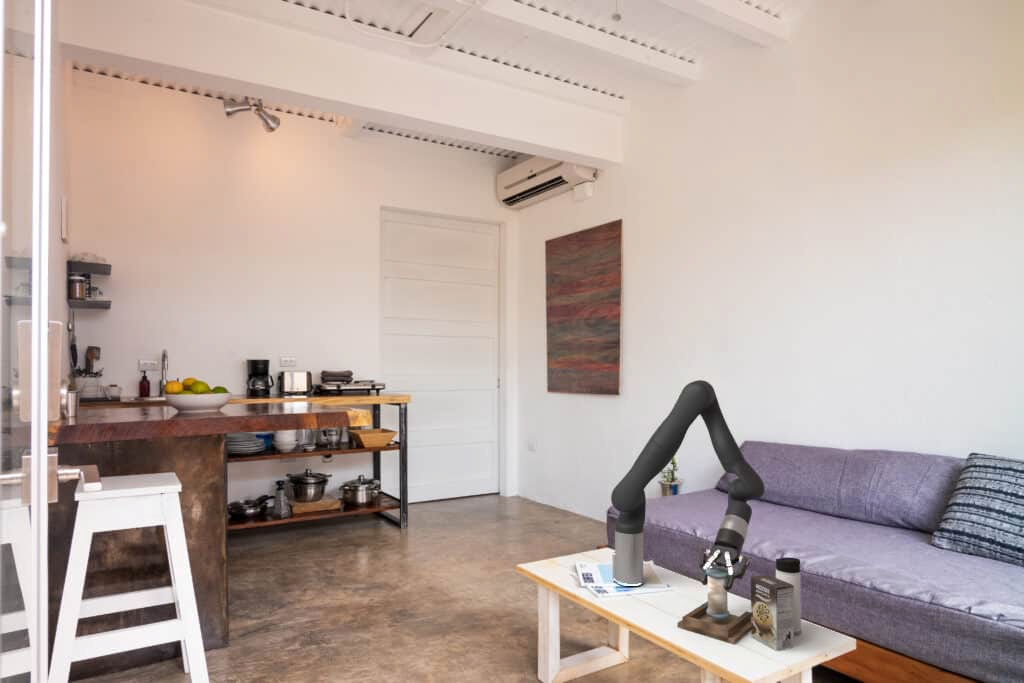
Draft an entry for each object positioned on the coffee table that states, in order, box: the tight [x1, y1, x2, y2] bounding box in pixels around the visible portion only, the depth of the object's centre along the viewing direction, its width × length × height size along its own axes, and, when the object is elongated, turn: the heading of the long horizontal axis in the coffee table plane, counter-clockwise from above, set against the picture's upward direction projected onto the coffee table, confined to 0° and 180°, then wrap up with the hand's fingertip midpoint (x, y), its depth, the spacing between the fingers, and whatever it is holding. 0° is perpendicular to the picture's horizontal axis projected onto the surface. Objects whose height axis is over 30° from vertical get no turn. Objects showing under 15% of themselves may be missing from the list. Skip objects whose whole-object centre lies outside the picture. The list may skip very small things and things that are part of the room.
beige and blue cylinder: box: [706, 567, 730, 619], centre depth 178 cm, size 6×6×12 cm
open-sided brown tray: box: [677, 600, 751, 645], centre depth 177 cm, size 16×16×3 cm
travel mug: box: [775, 556, 802, 637], centre depth 175 cm, size 6×7×20 cm
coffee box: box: [750, 574, 795, 652], centre depth 168 cm, size 9×6×16 cm
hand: (714, 586), depth 177 cm, fingers closed on beige and blue cylinder, 6 cm apart
